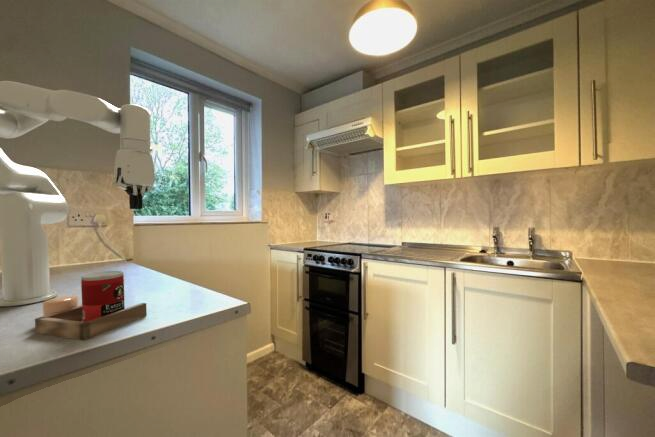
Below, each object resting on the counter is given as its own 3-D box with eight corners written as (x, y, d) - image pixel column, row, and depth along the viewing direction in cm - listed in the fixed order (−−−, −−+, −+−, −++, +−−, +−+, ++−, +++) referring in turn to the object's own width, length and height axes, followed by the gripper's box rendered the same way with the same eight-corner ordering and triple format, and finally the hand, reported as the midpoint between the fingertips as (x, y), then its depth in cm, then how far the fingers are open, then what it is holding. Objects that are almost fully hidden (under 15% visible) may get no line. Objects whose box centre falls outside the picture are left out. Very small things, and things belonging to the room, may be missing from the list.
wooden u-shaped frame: (35, 332, 60) (35, 318, 60) (103, 310, 73) (103, 299, 73) (83, 340, 56) (83, 325, 56) (146, 315, 70) (146, 303, 70)
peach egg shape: (36, 324, 65) (36, 302, 65) (67, 315, 71) (66, 295, 71) (55, 326, 63) (54, 304, 63) (84, 317, 69) (84, 296, 69)
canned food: (107, 327, 62) (105, 277, 62) (72, 327, 63) (71, 277, 62) (133, 315, 70) (131, 270, 70) (102, 314, 70) (100, 270, 70)
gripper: (148, 153, 94) (148, 209, 94) (100, 143, 80) (101, 208, 80) (166, 152, 92) (166, 209, 92) (120, 141, 77) (120, 208, 78)
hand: (136, 208), depth 86 cm, fingers closed
